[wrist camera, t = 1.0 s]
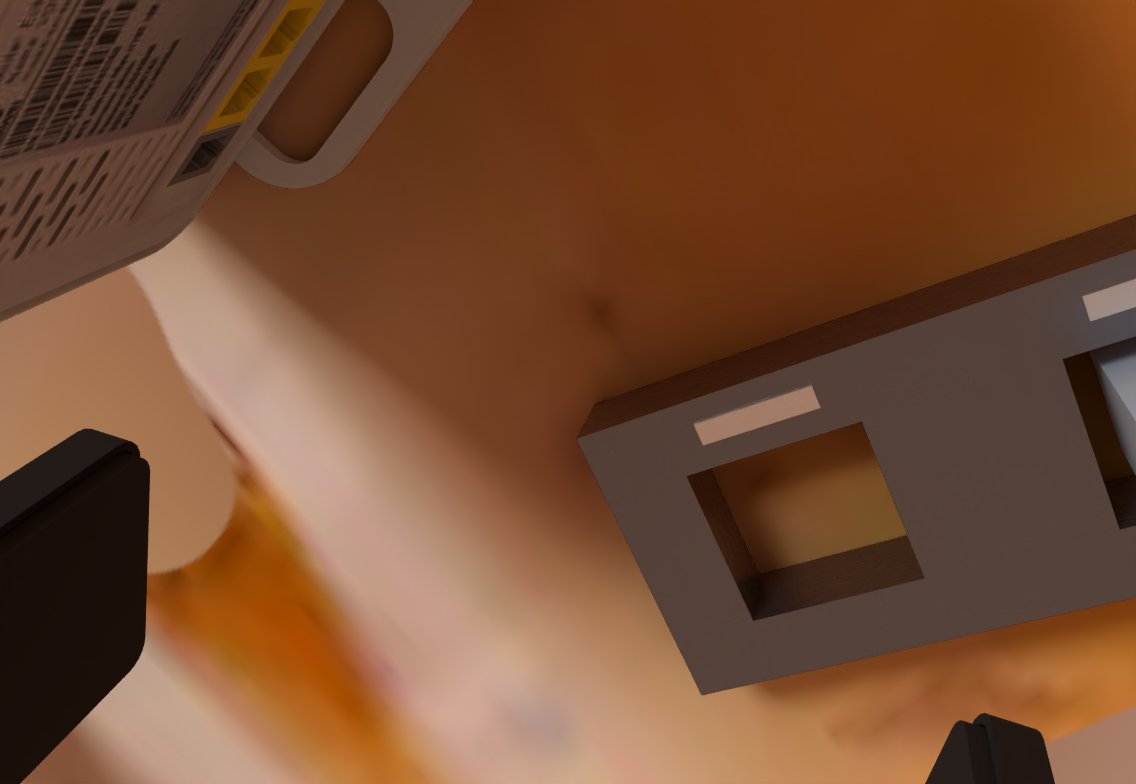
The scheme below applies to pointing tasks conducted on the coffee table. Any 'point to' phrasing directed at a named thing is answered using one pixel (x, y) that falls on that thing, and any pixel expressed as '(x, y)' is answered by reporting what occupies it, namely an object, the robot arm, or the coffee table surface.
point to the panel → (890, 469)
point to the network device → (159, 120)
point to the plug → (1119, 390)
